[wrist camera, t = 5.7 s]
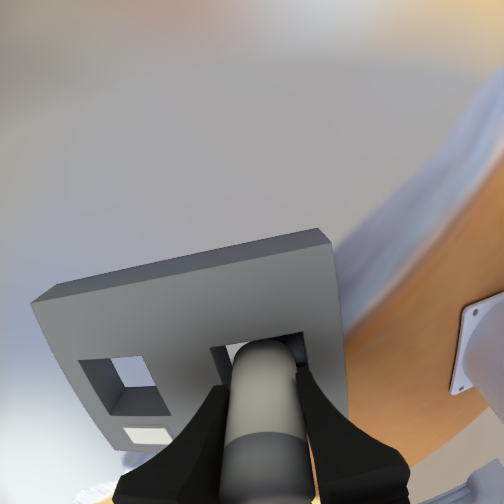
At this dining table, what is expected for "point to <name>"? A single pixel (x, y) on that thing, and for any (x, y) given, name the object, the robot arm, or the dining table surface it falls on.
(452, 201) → the dining table surface
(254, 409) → the plug
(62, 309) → the socket panel
